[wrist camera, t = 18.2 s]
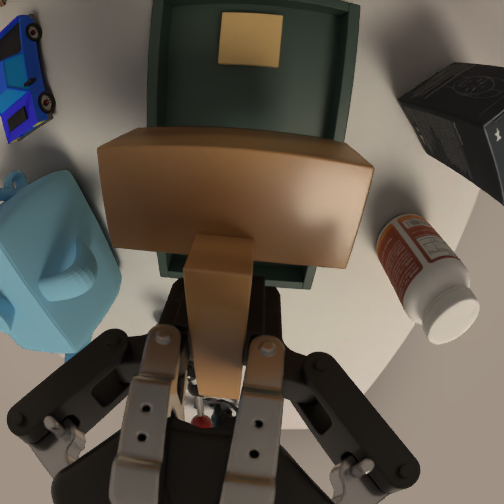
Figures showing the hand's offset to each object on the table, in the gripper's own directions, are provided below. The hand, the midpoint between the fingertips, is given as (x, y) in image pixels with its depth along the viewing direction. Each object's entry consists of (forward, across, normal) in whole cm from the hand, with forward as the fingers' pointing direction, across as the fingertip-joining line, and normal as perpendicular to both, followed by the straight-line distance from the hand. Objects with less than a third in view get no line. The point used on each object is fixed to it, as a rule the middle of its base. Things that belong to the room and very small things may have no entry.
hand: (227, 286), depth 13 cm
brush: (+3, 0, -1) cm, 3 cm away
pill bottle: (+12, -16, +3) cm, 20 cm away
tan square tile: (+11, 0, -12) cm, 16 cm away
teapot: (+11, +18, +7) cm, 22 cm away
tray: (+11, 0, -4) cm, 12 cm away
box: (+12, -16, -11) cm, 22 cm away
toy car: (+11, +21, -12) cm, 27 cm away
